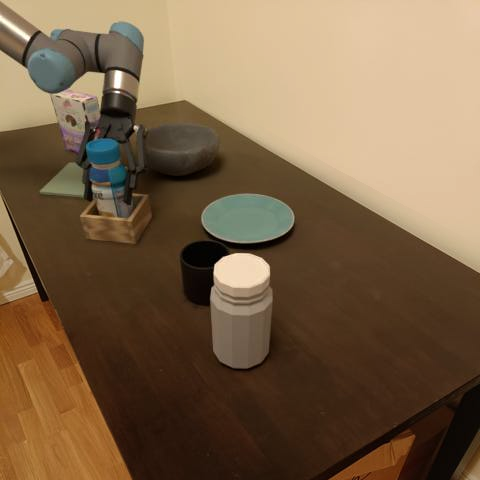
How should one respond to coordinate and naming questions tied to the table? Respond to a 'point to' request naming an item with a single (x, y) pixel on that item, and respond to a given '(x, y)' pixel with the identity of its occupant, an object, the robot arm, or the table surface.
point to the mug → (200, 268)
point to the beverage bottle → (108, 178)
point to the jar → (241, 310)
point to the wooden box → (117, 222)
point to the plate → (247, 218)
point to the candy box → (75, 116)
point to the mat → (67, 182)
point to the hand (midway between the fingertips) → (107, 201)
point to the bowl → (181, 148)
